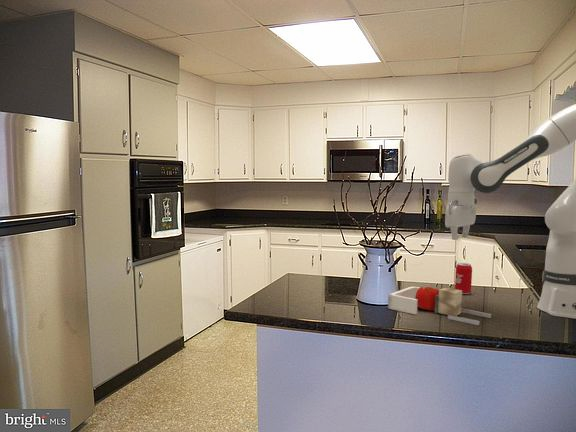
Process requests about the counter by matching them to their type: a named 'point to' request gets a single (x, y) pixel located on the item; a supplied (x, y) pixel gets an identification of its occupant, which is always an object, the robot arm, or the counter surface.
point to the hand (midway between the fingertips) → (460, 238)
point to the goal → (404, 300)
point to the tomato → (426, 298)
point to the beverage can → (463, 277)
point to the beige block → (448, 301)
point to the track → (469, 319)
